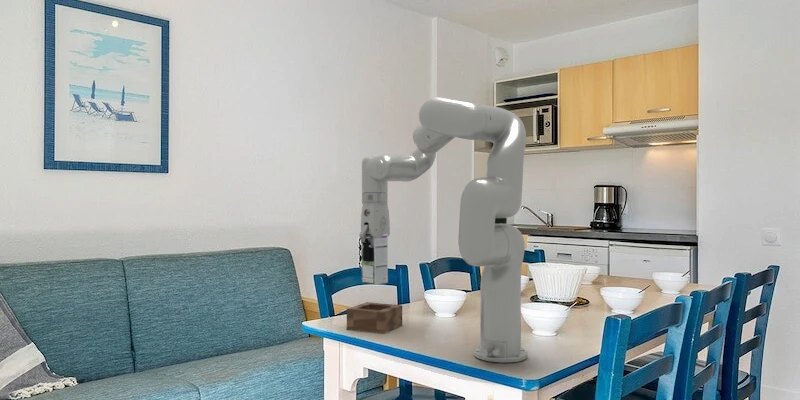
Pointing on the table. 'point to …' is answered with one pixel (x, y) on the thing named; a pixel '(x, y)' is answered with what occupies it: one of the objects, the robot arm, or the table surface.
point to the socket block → (374, 317)
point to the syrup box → (376, 262)
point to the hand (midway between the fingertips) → (374, 259)
